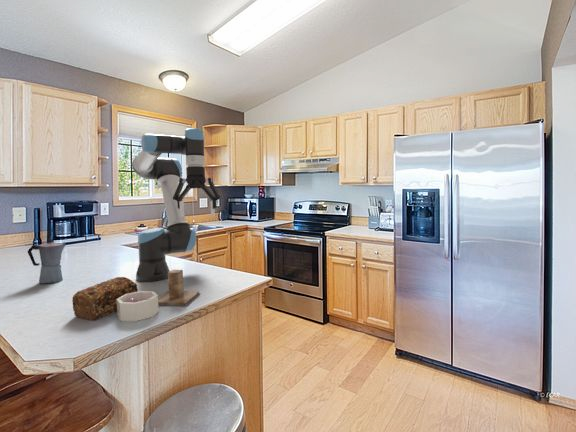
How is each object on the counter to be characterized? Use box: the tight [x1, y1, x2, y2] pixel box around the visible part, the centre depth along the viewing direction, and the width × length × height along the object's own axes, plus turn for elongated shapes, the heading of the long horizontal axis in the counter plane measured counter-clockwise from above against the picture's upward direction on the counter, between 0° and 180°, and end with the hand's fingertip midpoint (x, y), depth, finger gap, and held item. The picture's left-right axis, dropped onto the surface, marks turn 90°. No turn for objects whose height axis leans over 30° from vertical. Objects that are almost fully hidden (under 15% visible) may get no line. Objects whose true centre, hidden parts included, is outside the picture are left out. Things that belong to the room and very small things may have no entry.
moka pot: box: [27, 238, 67, 284], centre depth 148 cm, size 10×15×20 cm, turn 155°
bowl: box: [116, 290, 160, 322], centre depth 109 cm, size 12×12×6 cm
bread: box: [71, 276, 139, 321], centre depth 114 cm, size 19×11×10 cm, turn 157°
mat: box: [158, 292, 201, 307], centre depth 123 cm, size 14×13×1 cm
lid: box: [158, 269, 200, 305], centre depth 123 cm, size 13×13×11 cm
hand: (197, 216), depth 136 cm, fingers open, 13 cm apart
